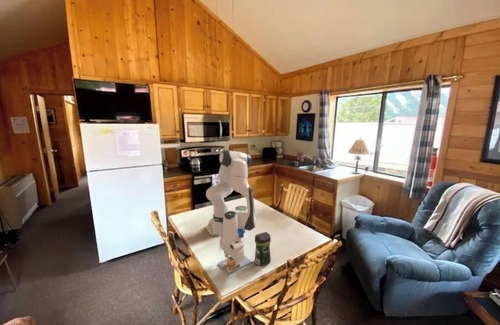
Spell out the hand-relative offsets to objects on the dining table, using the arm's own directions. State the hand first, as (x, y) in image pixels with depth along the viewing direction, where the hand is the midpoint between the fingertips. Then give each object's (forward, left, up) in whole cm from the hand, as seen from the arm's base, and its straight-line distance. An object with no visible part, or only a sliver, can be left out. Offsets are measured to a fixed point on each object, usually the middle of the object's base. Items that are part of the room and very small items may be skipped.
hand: (231, 261), depth 124 cm
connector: (0, 0, -3) cm, 3 cm away
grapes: (-21, +20, -5) cm, 30 cm away
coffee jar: (+7, +18, -5) cm, 21 cm away
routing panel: (-2, +4, -5) cm, 7 cm away
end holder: (0, 0, -4) cm, 4 cm away
